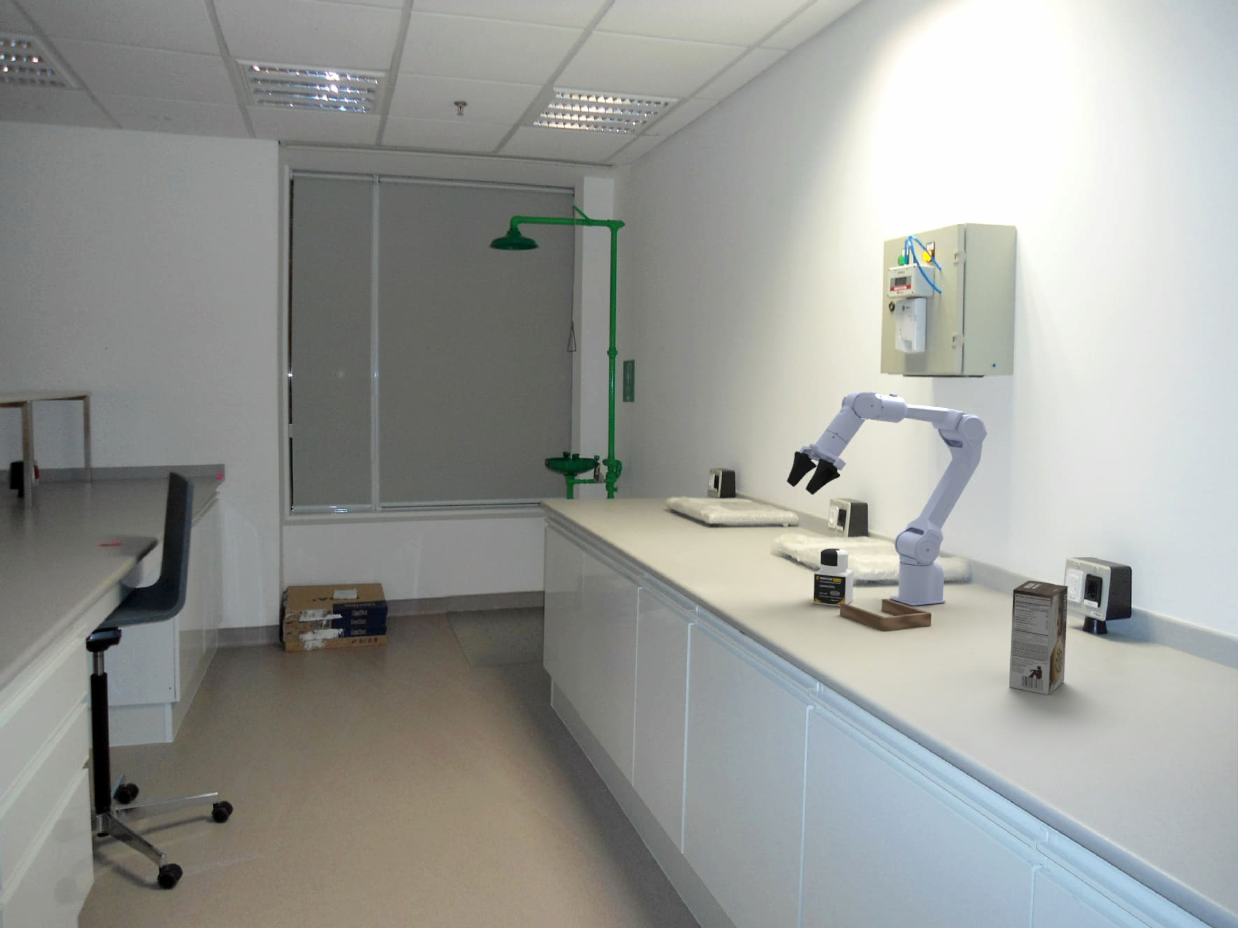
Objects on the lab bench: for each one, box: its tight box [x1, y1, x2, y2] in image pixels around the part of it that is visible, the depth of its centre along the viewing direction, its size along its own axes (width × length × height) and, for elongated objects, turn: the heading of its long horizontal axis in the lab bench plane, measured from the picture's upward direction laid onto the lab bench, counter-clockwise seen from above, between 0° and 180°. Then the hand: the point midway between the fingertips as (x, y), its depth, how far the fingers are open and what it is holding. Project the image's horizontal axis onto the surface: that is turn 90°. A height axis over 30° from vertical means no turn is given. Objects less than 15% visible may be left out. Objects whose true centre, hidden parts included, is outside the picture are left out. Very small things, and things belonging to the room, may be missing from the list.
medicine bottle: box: [813, 547, 854, 607], centre depth 208 cm, size 7×7×12 cm
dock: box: [839, 598, 932, 632], centre depth 192 cm, size 12×14×2 cm
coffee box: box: [1008, 580, 1069, 696], centre depth 150 cm, size 9×6×16 cm
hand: (799, 488), depth 202 cm, fingers open, 7 cm apart
